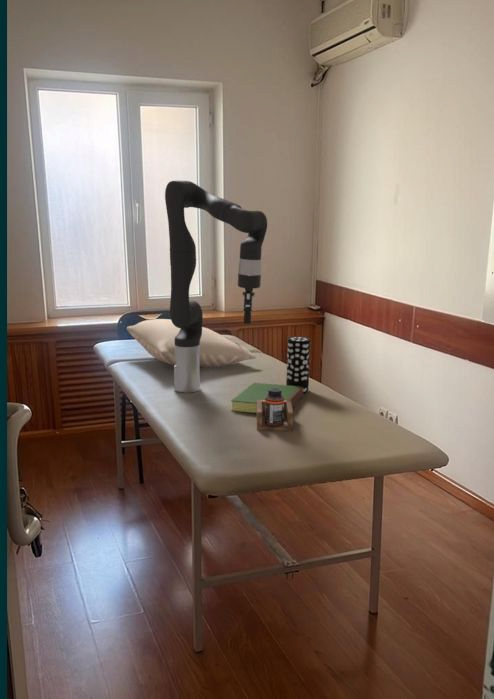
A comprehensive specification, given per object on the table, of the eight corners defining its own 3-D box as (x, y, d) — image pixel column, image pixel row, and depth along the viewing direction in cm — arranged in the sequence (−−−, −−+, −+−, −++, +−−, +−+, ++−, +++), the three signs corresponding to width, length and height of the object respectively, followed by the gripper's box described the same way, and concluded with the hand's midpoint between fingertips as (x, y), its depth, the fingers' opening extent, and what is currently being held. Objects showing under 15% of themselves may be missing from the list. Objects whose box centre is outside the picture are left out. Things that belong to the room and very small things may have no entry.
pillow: (157, 377, 237) (254, 379, 260) (164, 332, 233) (261, 337, 256) (121, 349, 274) (209, 352, 296) (126, 309, 270) (215, 316, 293)
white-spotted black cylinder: (307, 395, 224) (309, 342, 220) (284, 393, 226) (286, 340, 221) (309, 388, 232) (311, 337, 227) (287, 387, 234) (289, 336, 229)
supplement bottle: (263, 420, 195) (264, 386, 192) (282, 420, 195) (283, 386, 193) (265, 427, 189) (266, 392, 186) (284, 426, 190) (286, 391, 187)
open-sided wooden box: (256, 429, 189) (257, 412, 188) (256, 416, 201) (256, 399, 199) (292, 430, 189) (293, 412, 188) (290, 417, 201) (290, 400, 199)
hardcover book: (285, 416, 200) (285, 405, 199) (231, 411, 206) (231, 400, 205) (303, 395, 223) (303, 386, 222) (254, 391, 229) (254, 382, 228)
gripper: (238, 269, 208) (236, 316, 212) (237, 275, 194) (235, 325, 199) (261, 270, 208) (258, 317, 212) (261, 276, 194) (258, 326, 198)
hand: (247, 321), depth 205 cm, fingers open, 8 cm apart
